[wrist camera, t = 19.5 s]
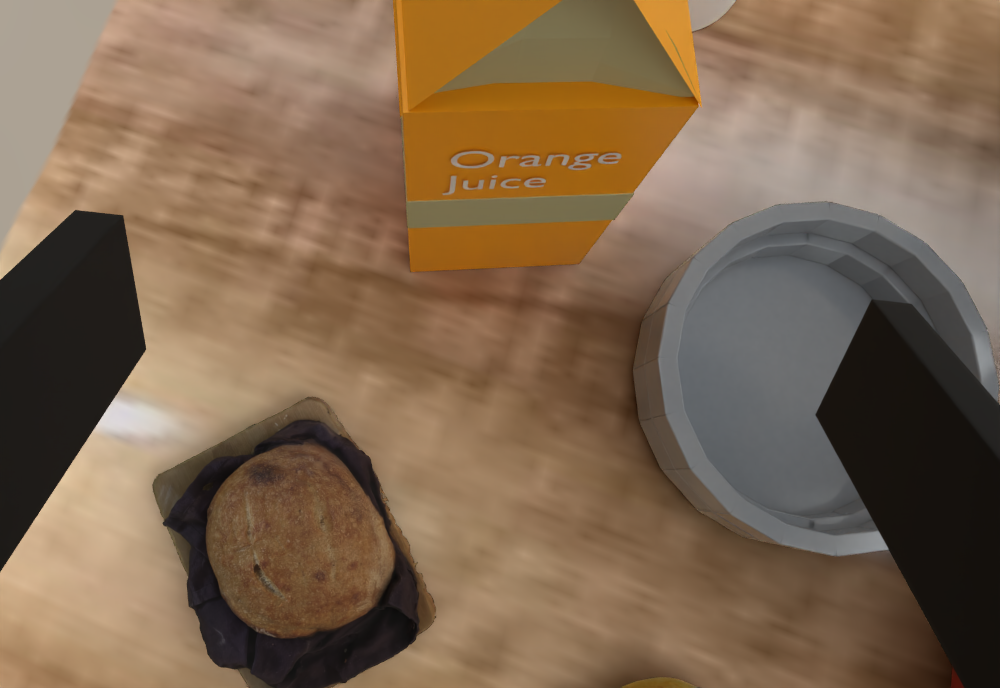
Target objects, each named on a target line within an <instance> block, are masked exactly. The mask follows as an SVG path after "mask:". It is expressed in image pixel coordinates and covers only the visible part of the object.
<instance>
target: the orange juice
mask: <svg viewBox="0 0 1000 688" xmlns="http://www.w3.org/2000/svg"><path fill="white" fill-rule="evenodd" d="M393 8H394V25H395V42H396V59H397V75H398V92H399V109H400V117H401V129H402V146H403V163H404V179H405V196H406V213H407V228H408V239H409V256H410V272H419V271H440V270H461V269H483V268H504V267H525V266H546V265H567V264H579V263H580V262H581V261H582V259H583V258H584V257H585V255H586V254H587V253H588V251H589V250H590V249H591V247H592V246H593V245H594V244H595V242H596V241H597V240H598V238H599V237H600V236H601V234H602V233H603V232H604V230H605V229H606V228H607V226H608V225H609V224H610V222H611V221H612V220H615V218H616V217H617V216H618V214H619V213H620V212H621V211H622V209H623V208H624V207H625V205H626V204H627V203H628V201H629V200H630V199H631V197H632V196H633V195H634V191H635V190H636V188H637V187H638V186H639V184H640V183H641V182H642V180H643V179H644V178H645V176H646V175H647V174H648V172H649V171H650V170H651V168H652V167H653V166H654V164H655V163H656V162H657V161H658V159H659V158H660V157H661V155H662V154H663V153H664V151H665V150H666V149H667V147H668V146H669V145H670V143H671V142H672V141H673V139H674V138H675V137H676V135H677V134H678V133H679V132H680V130H681V129H682V128H683V126H684V125H685V124H686V122H687V121H688V120H689V118H690V117H691V116H692V114H693V113H694V112H695V110H696V109H697V108H698V106H699V105H698V103H699V104H700V106H701V107H702V105H701V97H700V90H699V82H698V75H697V67H696V59H695V52H694V44H693V36H692V29H691V21H690V13H689V6H688V0H393ZM392 29H393V28H392ZM393 47H394V45H393ZM394 63H395V62H394ZM396 98H397V97H396Z"/></svg>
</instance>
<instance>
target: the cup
mask: <svg viewBox="0 0 1000 688" xmlns="http://www.w3.org/2000/svg"><path fill="white" fill-rule="evenodd" d="M735 1H736V0H688V6H689V13H690V21H691V29H692V32H693V31H696V30H699V29H702V28H705V27H707V26H709V25H711V24H712V23H714V22H716V21H717V20H718V19H720V18H721V17H722V16H723V15H724V14H725V13H726V12H727V11H728V10H729V9H730V8H731V7H732V6H733V4H734V3H735Z"/></svg>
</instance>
